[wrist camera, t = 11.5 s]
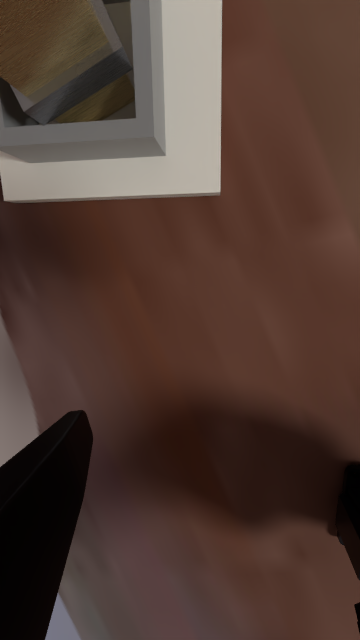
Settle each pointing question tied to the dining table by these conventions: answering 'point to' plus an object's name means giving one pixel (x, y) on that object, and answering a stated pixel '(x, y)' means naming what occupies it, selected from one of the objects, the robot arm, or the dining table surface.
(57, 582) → the robot arm
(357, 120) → the dining table surface
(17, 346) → the dining table surface
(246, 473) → the dining table surface
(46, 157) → the shaft mount
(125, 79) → the tan wooden pillar
